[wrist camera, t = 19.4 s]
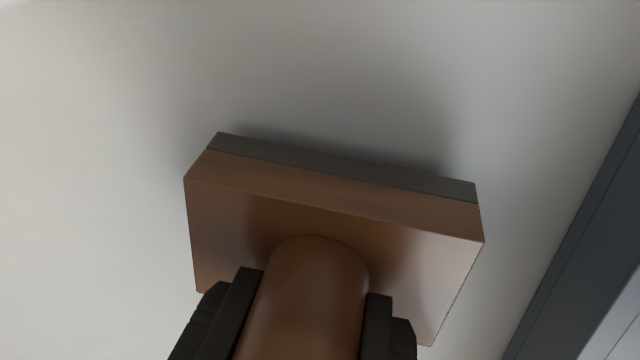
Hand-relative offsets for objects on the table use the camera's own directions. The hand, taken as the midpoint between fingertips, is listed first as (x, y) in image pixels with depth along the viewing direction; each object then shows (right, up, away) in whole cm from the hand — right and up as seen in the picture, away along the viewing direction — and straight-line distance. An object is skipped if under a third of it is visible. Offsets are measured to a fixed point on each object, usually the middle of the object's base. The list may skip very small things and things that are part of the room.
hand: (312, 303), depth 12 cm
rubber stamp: (+1, +2, +2) cm, 3 cm away
